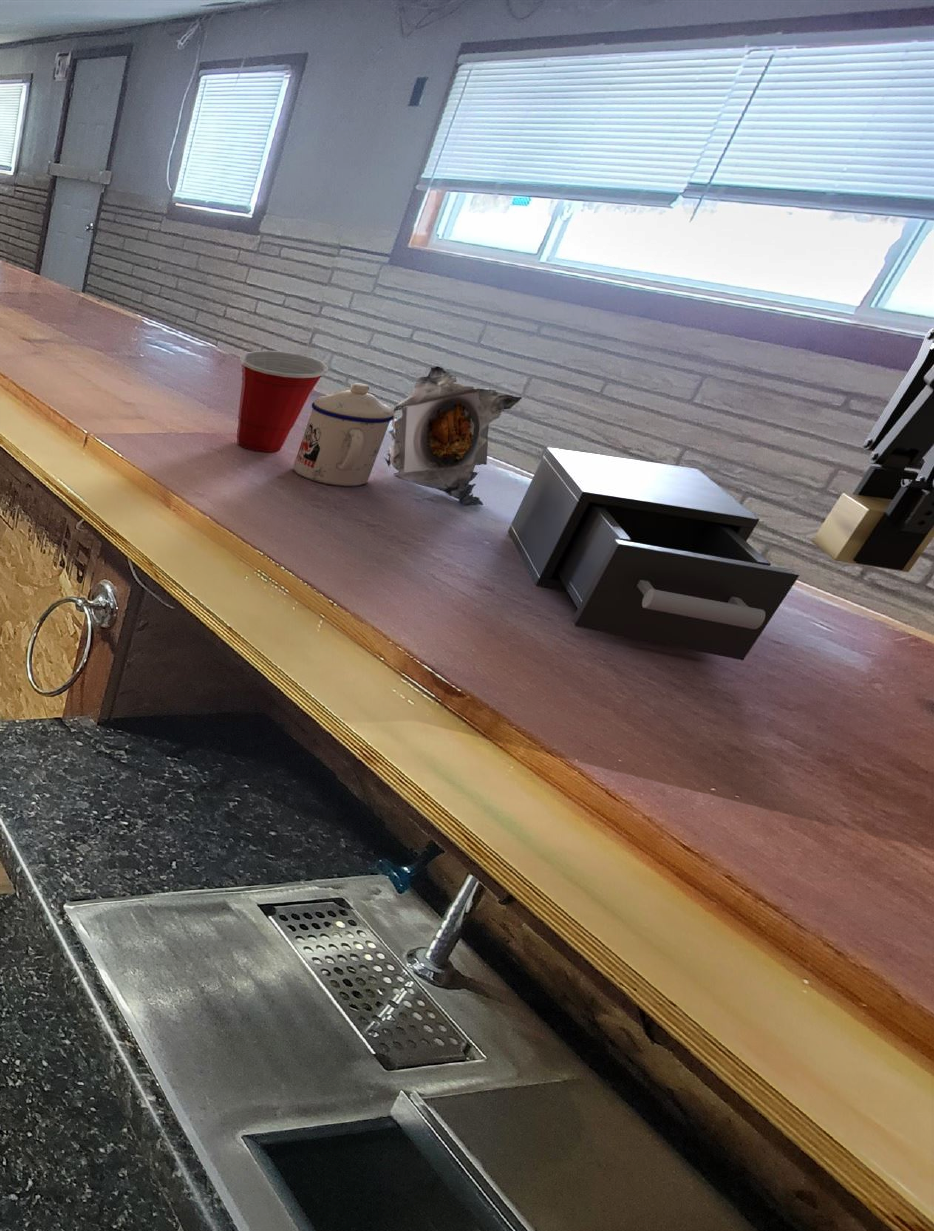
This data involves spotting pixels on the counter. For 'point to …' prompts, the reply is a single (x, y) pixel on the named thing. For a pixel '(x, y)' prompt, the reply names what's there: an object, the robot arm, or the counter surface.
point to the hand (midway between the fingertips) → (861, 553)
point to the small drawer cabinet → (609, 502)
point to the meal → (444, 433)
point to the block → (856, 528)
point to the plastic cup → (273, 396)
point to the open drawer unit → (670, 580)
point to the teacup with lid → (343, 437)
